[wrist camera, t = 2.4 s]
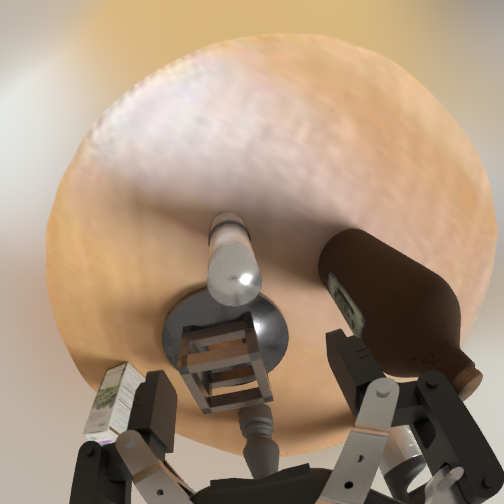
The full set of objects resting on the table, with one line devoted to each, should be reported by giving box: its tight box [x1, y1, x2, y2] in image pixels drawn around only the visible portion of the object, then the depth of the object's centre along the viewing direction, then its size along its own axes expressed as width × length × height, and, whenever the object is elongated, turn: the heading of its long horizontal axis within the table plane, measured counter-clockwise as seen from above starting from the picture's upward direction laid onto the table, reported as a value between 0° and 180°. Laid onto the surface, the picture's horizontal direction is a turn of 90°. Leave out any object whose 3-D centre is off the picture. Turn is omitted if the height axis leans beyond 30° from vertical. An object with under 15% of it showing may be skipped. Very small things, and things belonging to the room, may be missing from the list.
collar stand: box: [162, 287, 289, 414], centre depth 35 cm, size 18×18×10 cm
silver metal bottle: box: [207, 212, 262, 306], centre depth 27 cm, size 4×4×14 cm
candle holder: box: [238, 404, 279, 479], centre depth 35 cm, size 6×6×25 cm
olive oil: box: [318, 229, 483, 402], centre depth 25 cm, size 11×11×25 cm
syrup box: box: [83, 362, 145, 446], centre depth 34 cm, size 6×6×14 cm
